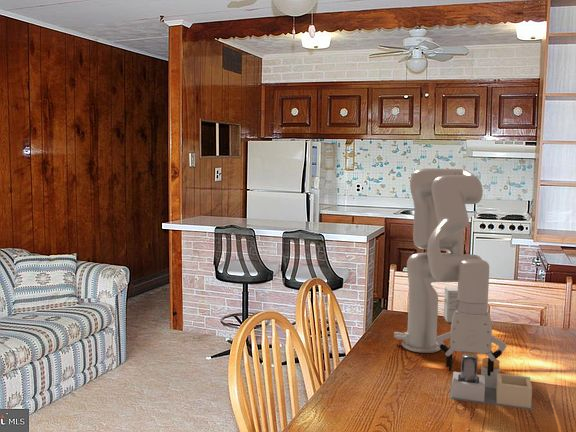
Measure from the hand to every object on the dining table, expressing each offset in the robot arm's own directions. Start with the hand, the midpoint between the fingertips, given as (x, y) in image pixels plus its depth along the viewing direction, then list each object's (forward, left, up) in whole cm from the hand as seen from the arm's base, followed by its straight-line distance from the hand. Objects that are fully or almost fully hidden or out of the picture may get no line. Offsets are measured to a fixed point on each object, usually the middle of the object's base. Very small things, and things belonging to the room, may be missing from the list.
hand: (469, 372), depth 154 cm
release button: (+5, +9, -5) cm, 12 cm away
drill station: (+5, +3, -7) cm, 10 cm away
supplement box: (-7, +77, -8) cm, 78 cm away
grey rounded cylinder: (0, 0, -6) cm, 6 cm away
